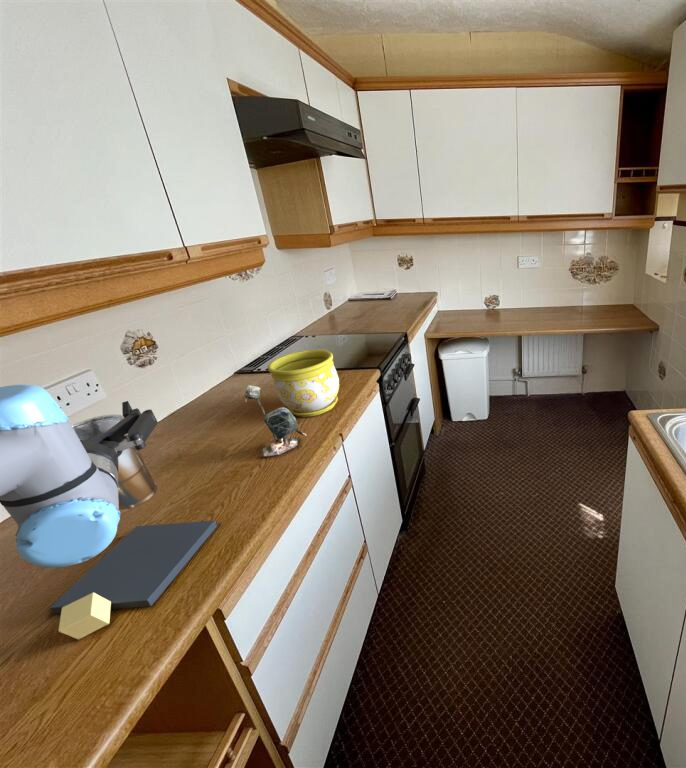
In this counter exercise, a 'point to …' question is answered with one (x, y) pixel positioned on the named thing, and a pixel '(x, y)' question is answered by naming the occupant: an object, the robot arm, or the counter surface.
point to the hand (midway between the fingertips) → (87, 419)
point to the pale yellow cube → (85, 616)
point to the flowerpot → (306, 381)
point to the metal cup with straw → (122, 463)
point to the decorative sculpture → (276, 426)
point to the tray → (140, 565)
